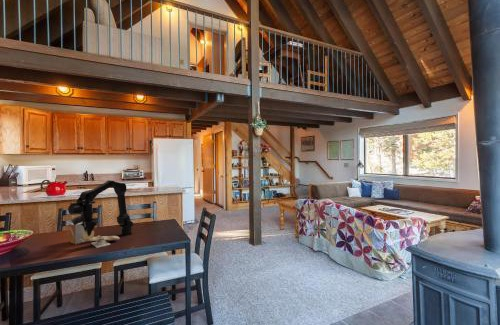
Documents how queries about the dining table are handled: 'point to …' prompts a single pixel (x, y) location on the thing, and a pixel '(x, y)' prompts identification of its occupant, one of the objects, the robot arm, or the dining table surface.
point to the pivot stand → (100, 243)
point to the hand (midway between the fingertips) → (87, 235)
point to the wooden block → (87, 235)
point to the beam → (101, 238)
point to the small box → (75, 233)
